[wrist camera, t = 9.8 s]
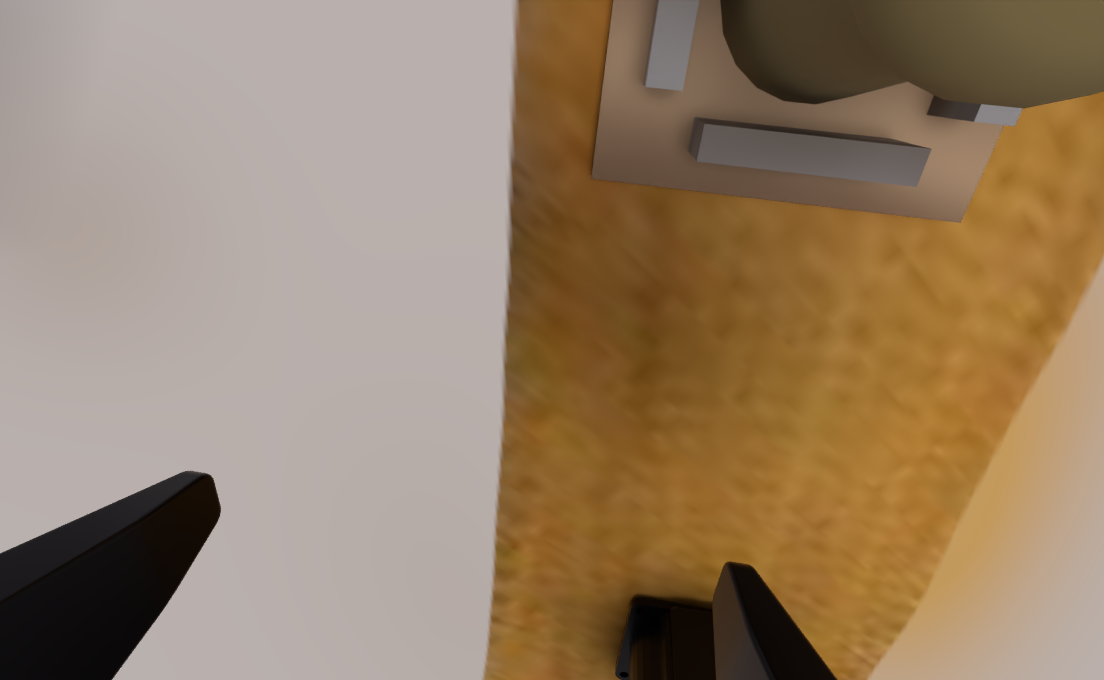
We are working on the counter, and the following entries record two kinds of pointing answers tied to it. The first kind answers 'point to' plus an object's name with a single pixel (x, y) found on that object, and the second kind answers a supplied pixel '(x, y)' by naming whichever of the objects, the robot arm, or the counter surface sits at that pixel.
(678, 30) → the clip holder
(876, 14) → the cork
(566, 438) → the counter surface
